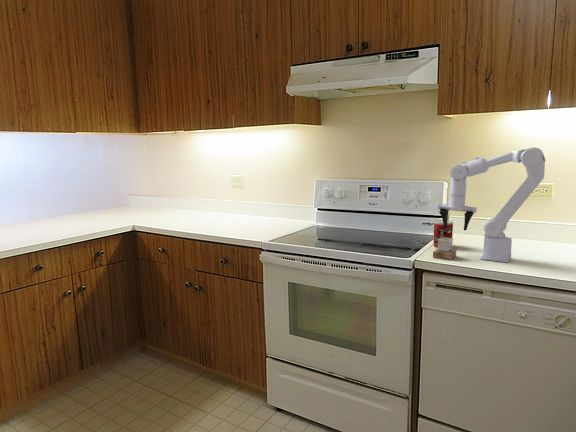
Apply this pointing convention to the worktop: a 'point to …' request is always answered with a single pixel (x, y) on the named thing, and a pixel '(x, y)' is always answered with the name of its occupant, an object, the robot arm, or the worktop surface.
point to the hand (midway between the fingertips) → (455, 228)
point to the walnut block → (444, 254)
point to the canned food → (442, 231)
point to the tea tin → (445, 244)
